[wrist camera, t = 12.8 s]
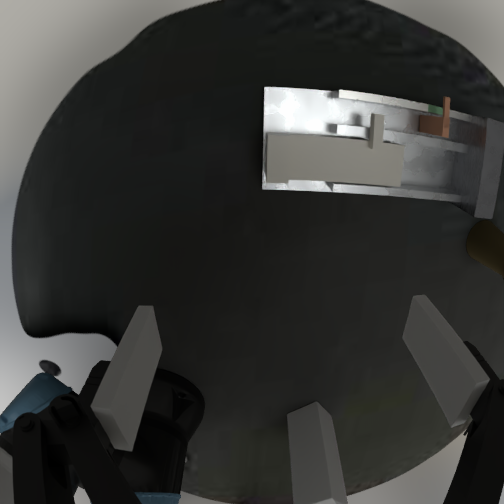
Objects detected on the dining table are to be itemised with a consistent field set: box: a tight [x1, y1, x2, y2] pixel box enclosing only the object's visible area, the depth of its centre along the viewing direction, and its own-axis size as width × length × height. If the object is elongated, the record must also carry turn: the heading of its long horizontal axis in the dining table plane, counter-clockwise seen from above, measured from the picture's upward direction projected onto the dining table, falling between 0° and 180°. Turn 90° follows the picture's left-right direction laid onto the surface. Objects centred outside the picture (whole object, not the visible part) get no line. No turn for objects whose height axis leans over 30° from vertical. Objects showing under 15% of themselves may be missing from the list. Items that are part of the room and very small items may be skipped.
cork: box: [466, 220, 504, 279], centre depth 33 cm, size 6×6×11 cm
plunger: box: [265, 113, 405, 187], centre depth 30 cm, size 14×7×5 cm, turn 89°
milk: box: [287, 401, 348, 504], centre depth 42 cm, size 6×6×22 cm
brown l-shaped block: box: [419, 97, 450, 138], centre depth 28 cm, size 2×4×5 cm, turn 179°
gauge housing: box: [262, 87, 504, 219], centre depth 30 cm, size 26×11×7 cm, turn 89°
